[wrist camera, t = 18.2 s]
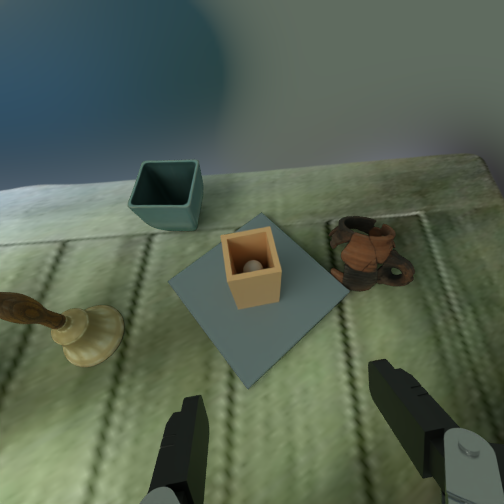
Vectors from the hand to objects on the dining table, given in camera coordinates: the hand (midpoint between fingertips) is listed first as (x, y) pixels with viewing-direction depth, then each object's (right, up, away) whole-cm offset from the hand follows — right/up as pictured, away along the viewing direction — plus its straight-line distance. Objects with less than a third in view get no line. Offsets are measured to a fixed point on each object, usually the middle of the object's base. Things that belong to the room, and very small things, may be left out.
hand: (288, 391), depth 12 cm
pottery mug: (+14, +4, +26) cm, 30 cm away
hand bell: (-24, -5, +24) cm, 34 cm away
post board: (-1, +1, +25) cm, 25 cm away
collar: (-1, +2, +24) cm, 24 cm away
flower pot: (-13, +12, +33) cm, 37 cm away
